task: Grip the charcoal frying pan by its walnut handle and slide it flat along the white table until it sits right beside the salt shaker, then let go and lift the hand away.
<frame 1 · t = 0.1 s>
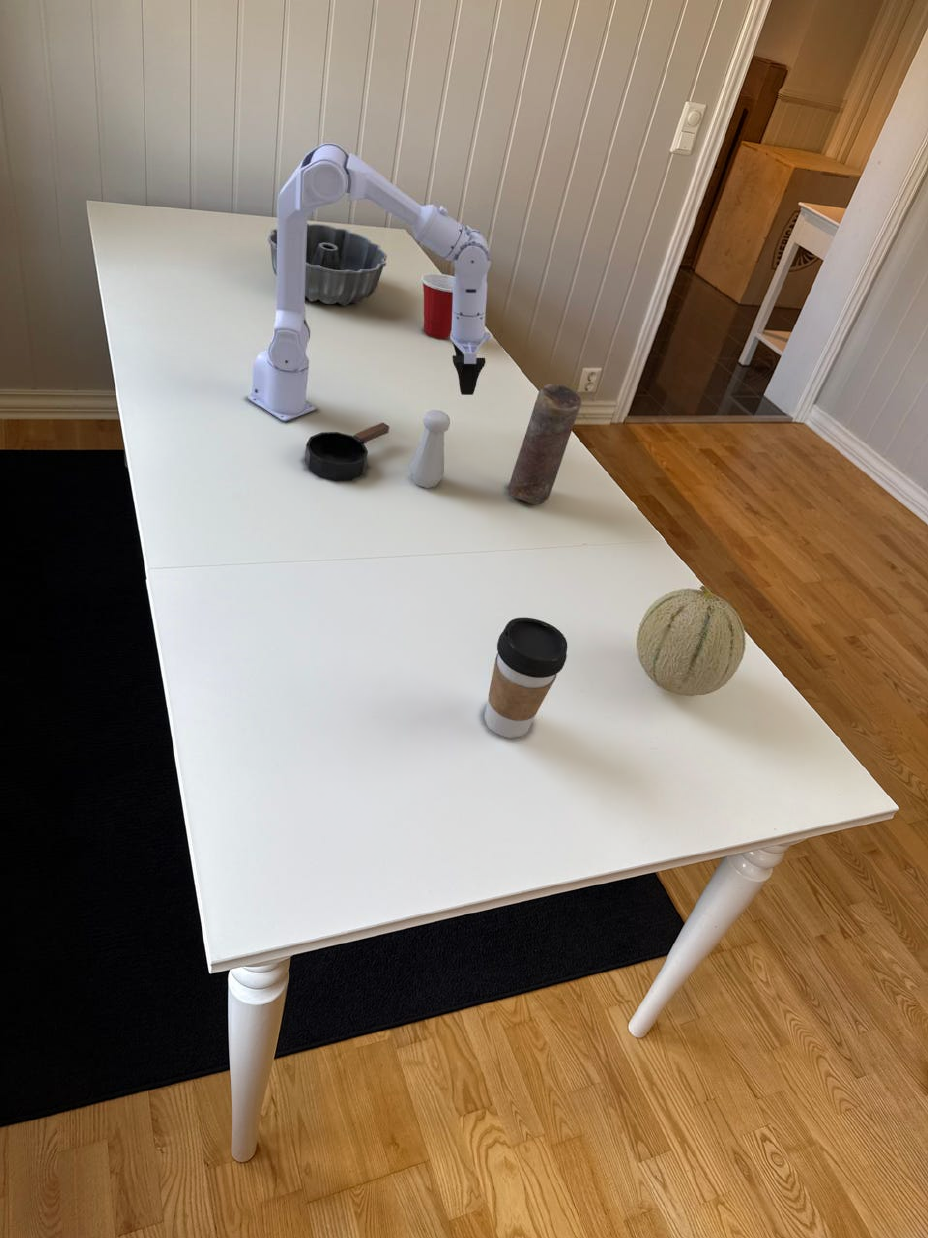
hand: (465, 383, 158), 11 cm above the table, tool pointing down, fingers open, 7 cm apart
salt shaker: (424, 482, 151), on the table
cantaloupe: (671, 679, 126), on the table
candle: (527, 497, 154), on the table
bundt pan: (324, 290, 202), on the table
plastic cup: (436, 333, 197), on the table
coffee cup: (506, 721, 113), on the table
pan: (335, 464, 149), on the table
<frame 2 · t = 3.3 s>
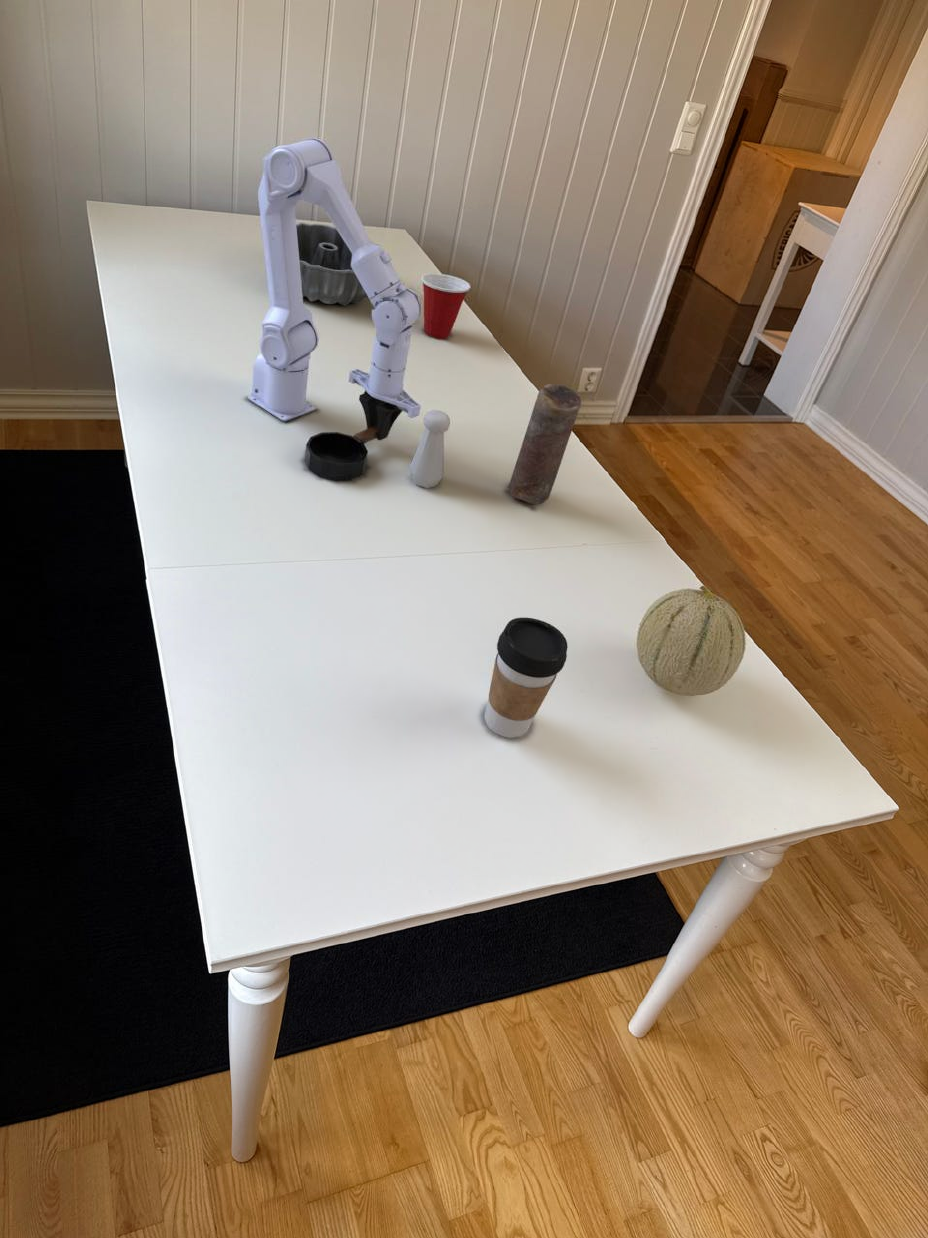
hand: (377, 435, 154), 2 cm above the table, tool pointing down, fingers closed on pan, 2 cm apart
pan: (335, 464, 149), on the table, touching gripper
everything else where it was.
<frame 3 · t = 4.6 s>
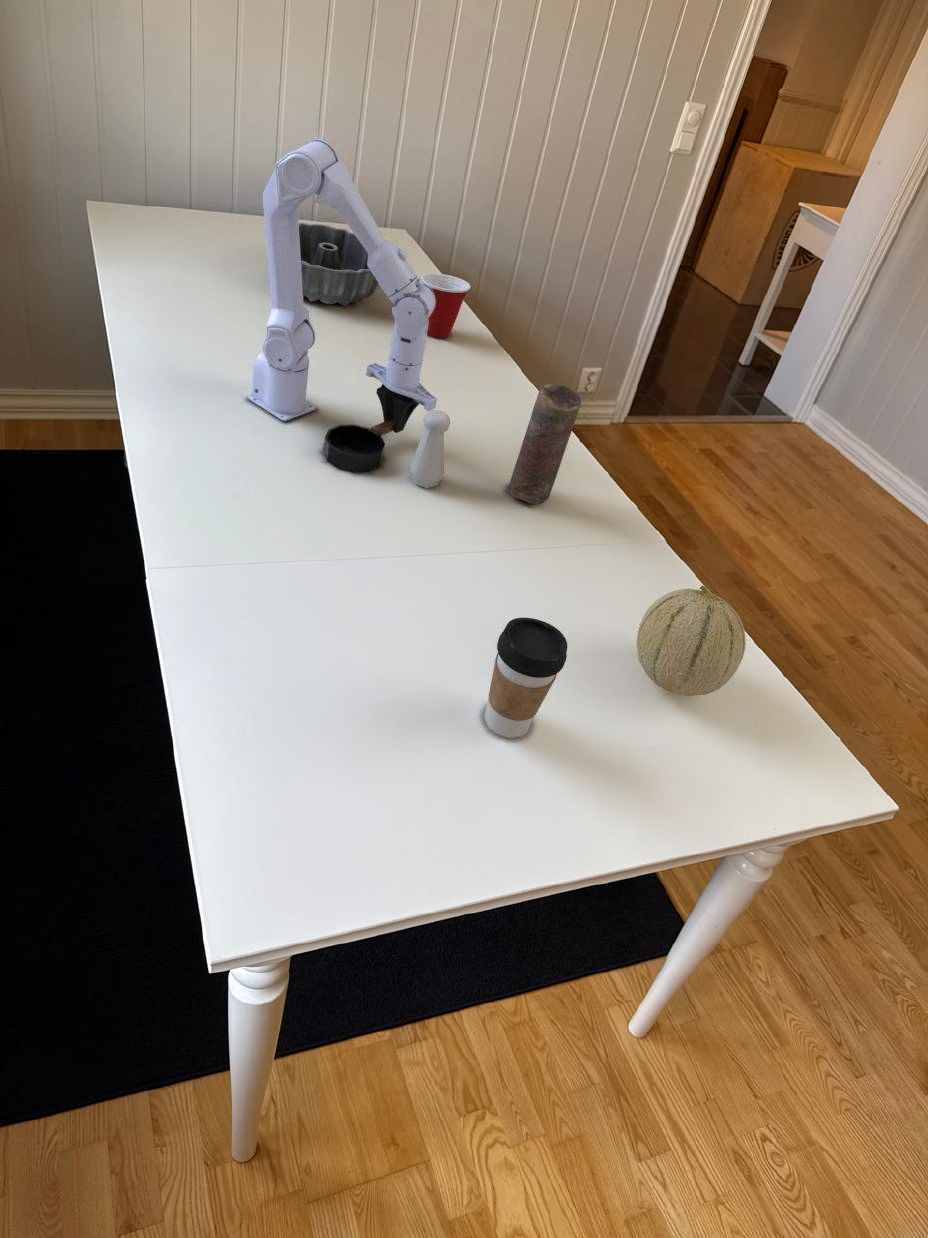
hand: (393, 427, 157), 2 cm above the table, tool pointing down, fingers closed on pan, 2 cm apart
pan: (353, 456, 152), on the table, touching gripper
everything else where it was.
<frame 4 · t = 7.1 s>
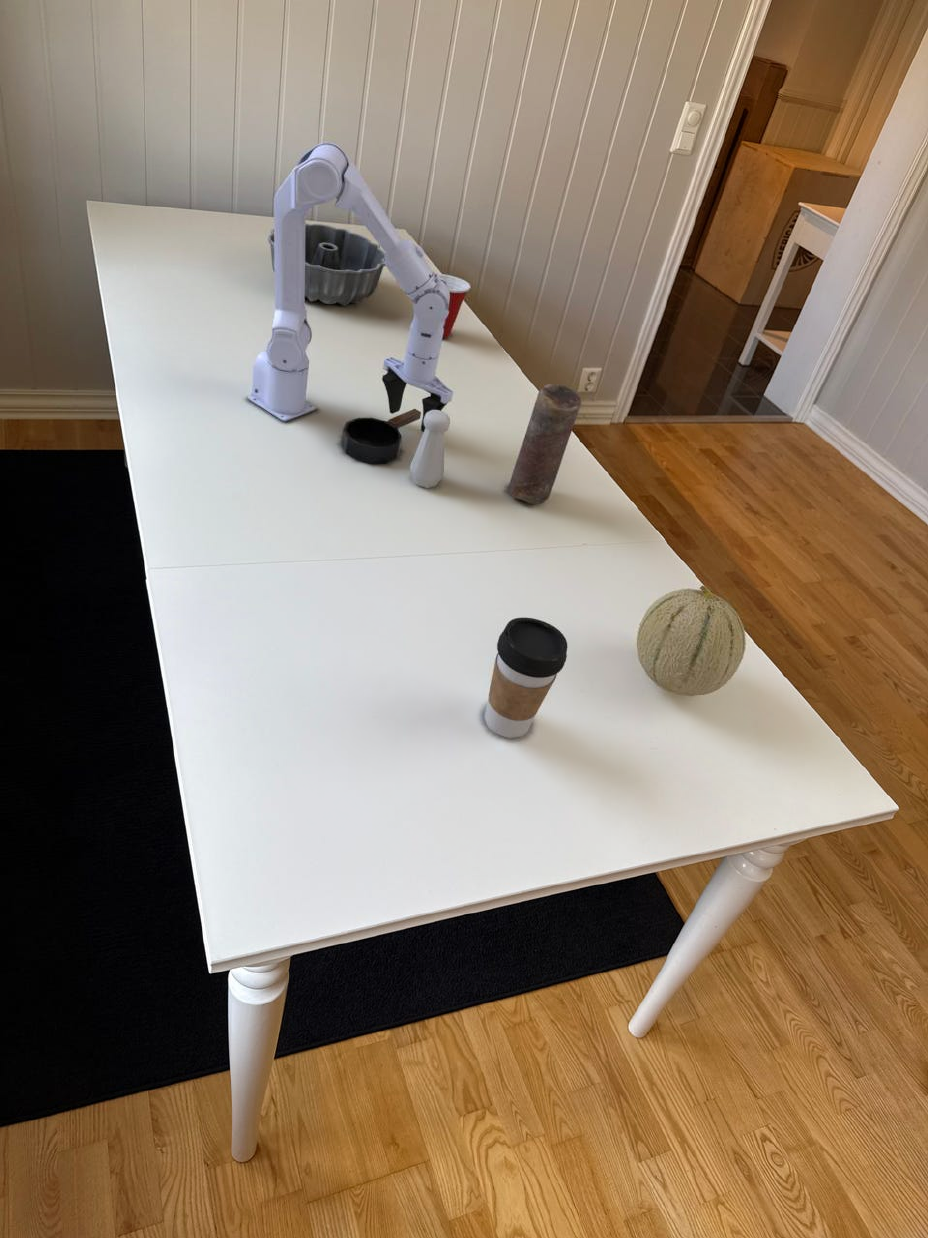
hand: (410, 420, 160), 2 cm above the table, tool pointing down, fingers open, 7 cm apart
pan: (370, 448, 155), on the table
everything else where it was.
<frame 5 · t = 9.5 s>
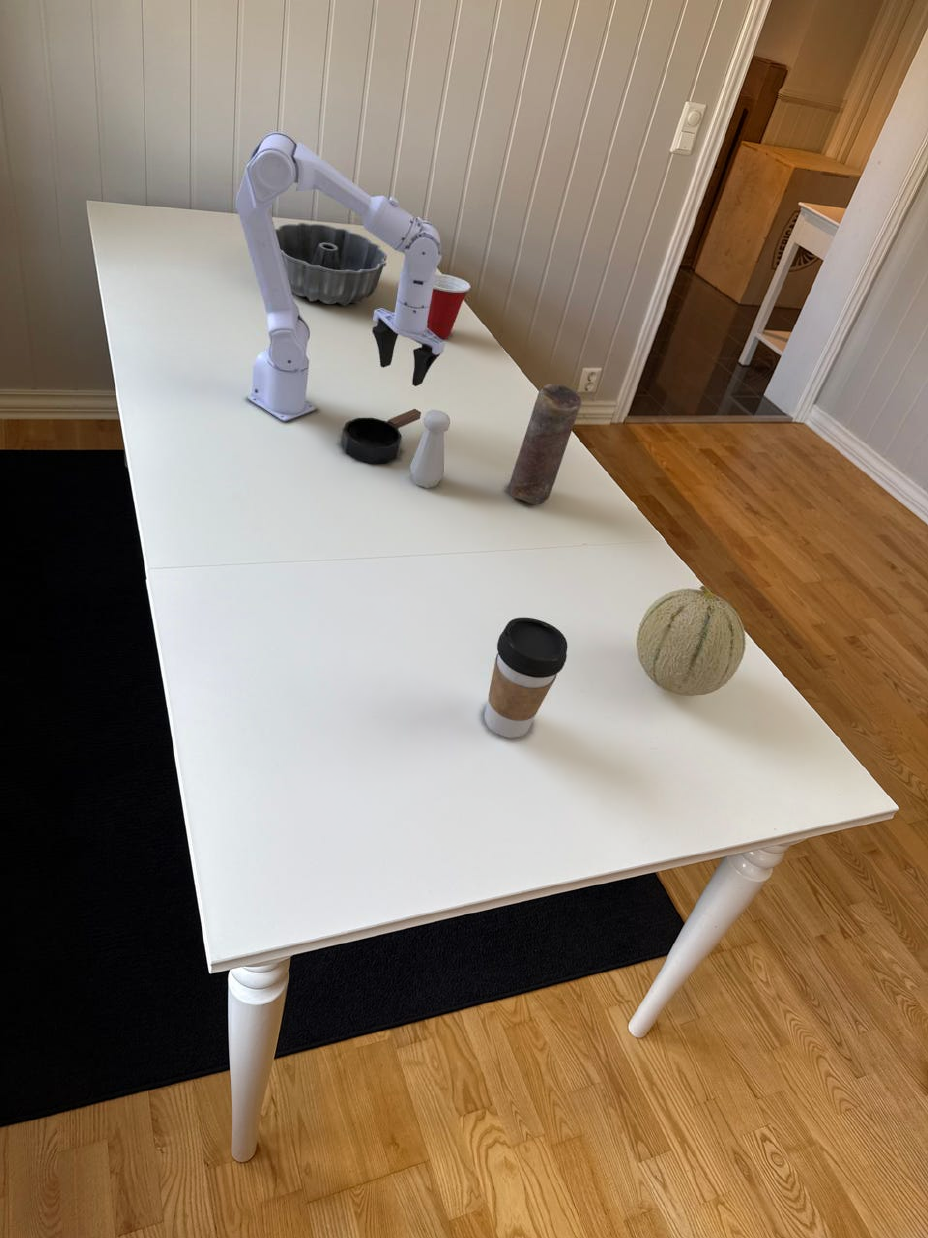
hand: (401, 374, 156), 10 cm above the table, tool pointing down, fingers open, 7 cm apart
nothing on the table moved.
at the end: pan 12.5 cm from the salt shaker (horizontally); pan moved 8.9 cm from its start; salt shaker moved 0.2 cm from its start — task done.
